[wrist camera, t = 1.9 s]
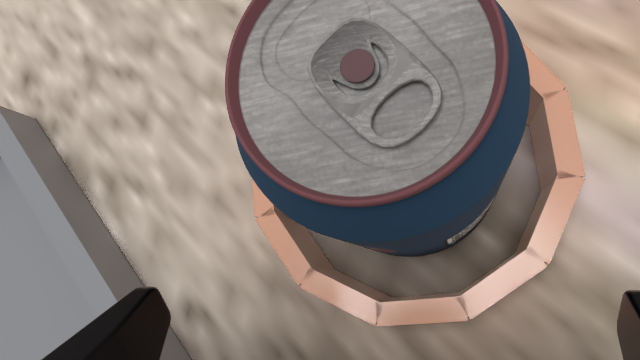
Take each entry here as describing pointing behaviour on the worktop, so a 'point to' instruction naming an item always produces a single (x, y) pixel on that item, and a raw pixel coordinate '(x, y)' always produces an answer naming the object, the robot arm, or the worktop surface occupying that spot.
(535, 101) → the ring holder
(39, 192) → the tray
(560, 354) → the worktop surface
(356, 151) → the soda can
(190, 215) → the worktop surface
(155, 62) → the worktop surface
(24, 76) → the worktop surface
